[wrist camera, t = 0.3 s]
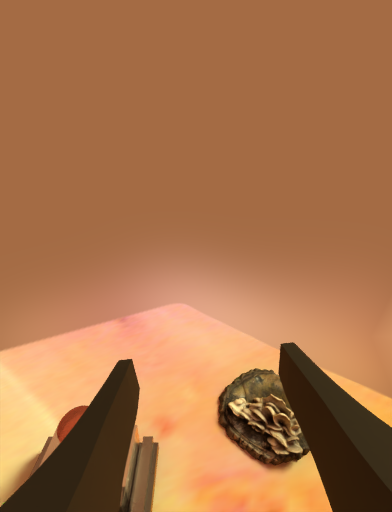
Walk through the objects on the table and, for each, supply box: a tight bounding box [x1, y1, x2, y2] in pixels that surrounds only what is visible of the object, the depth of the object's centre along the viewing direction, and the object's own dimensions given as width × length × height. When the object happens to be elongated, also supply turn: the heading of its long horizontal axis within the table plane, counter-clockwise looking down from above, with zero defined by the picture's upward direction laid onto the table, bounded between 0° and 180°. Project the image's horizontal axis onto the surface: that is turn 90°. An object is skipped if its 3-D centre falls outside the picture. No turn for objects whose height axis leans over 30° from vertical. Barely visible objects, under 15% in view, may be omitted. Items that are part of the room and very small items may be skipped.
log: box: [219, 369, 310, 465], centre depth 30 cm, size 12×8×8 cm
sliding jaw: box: [39, 406, 139, 512], centre depth 22 cm, size 6×8×8 cm
